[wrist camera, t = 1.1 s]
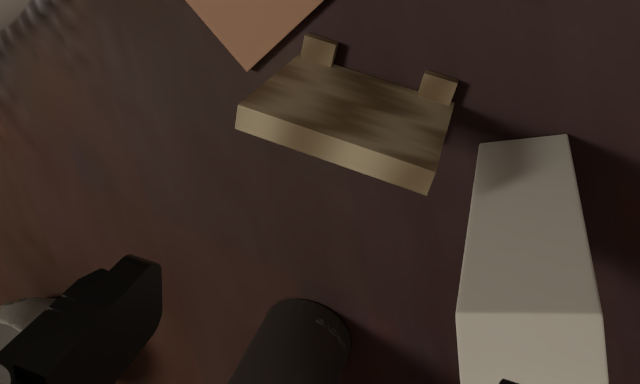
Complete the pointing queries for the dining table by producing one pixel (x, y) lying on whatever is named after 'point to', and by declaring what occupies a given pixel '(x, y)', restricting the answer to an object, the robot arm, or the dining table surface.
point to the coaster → (252, 24)
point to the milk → (528, 271)
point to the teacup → (20, 316)
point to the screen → (353, 116)
